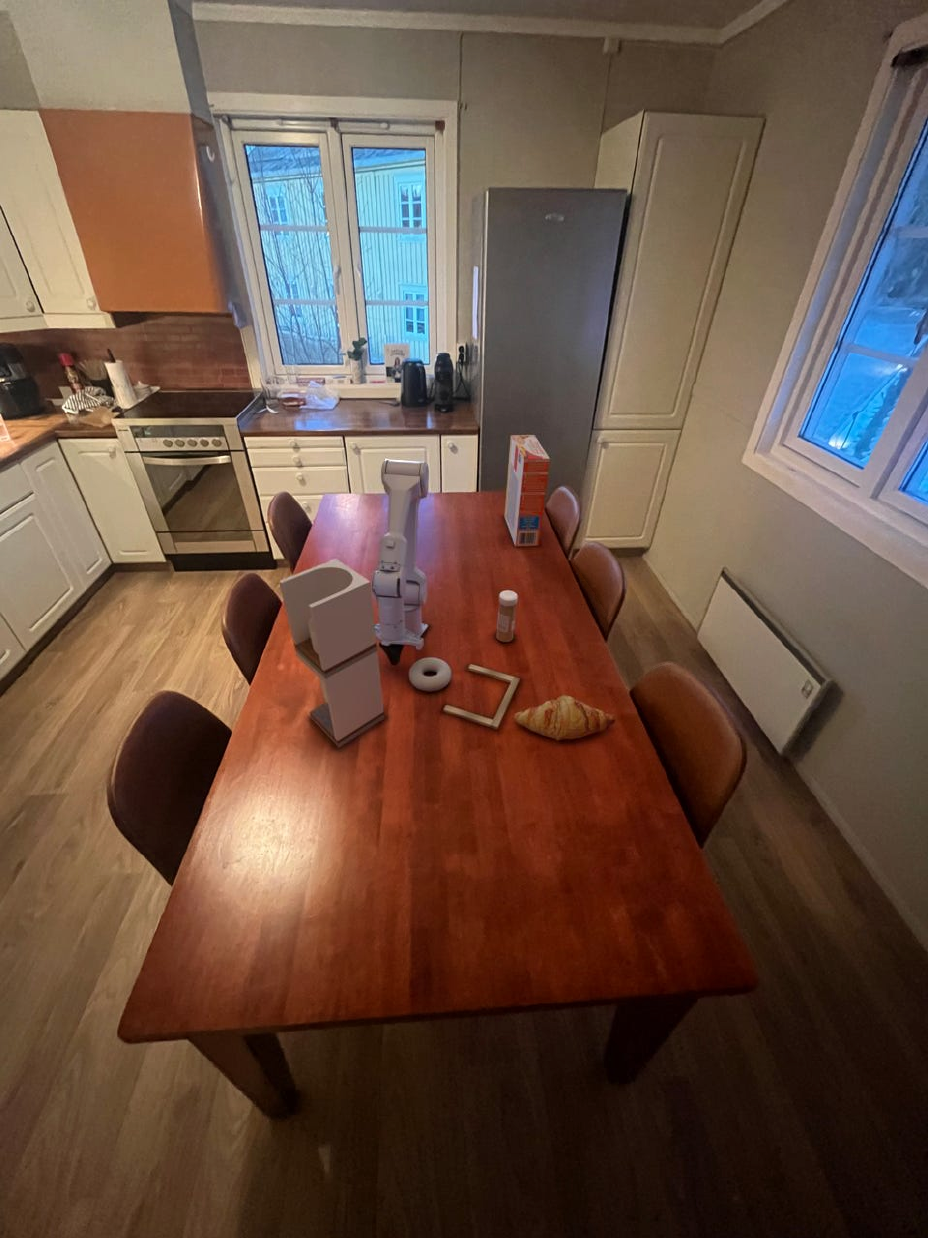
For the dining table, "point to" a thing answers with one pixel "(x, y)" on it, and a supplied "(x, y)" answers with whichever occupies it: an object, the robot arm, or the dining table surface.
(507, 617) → the sprinkles bottle
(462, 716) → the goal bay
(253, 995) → the dining table surface
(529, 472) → the cereal box
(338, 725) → the grey pedestal stand
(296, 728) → the dining table surface
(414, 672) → the donut
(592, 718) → the croissant
